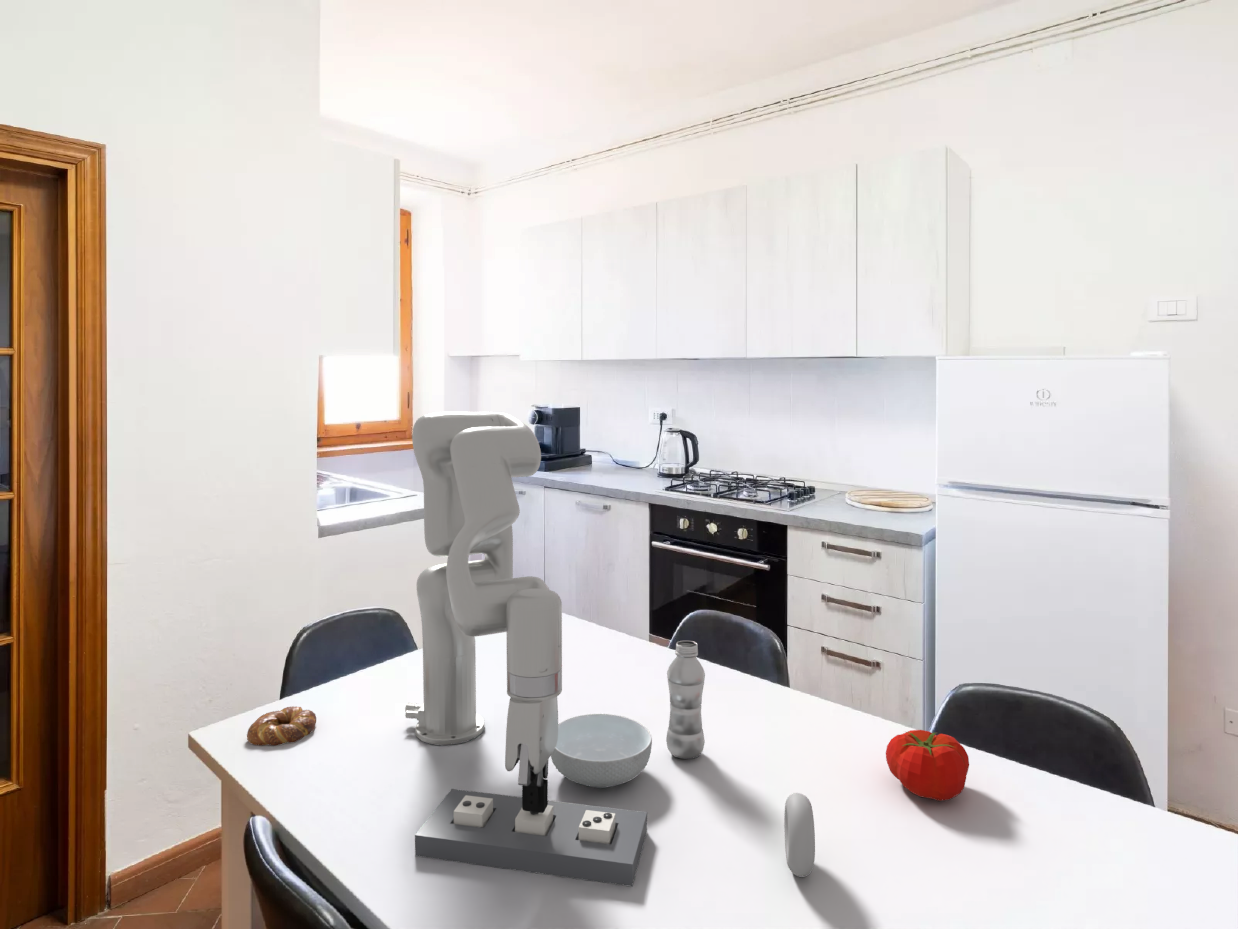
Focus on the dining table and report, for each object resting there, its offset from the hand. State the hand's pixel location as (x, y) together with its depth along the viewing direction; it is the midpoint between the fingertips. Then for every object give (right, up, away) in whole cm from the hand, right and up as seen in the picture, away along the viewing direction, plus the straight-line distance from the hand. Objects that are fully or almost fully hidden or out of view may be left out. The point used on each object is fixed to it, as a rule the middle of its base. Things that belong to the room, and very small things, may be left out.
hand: (535, 808), depth 101 cm
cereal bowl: (+9, -4, +19) cm, 21 cm away
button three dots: (+9, -3, -1) cm, 9 cm away
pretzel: (-50, -2, +33) cm, 60 cm away
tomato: (+61, -5, +16) cm, 63 cm away
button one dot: (0, -3, 0) cm, 3 cm away
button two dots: (-9, -3, +2) cm, 10 cm away
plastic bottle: (+23, -3, +27) cm, 35 cm away
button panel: (0, -5, +1) cm, 5 cm away
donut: (+36, -6, -4) cm, 36 cm away
